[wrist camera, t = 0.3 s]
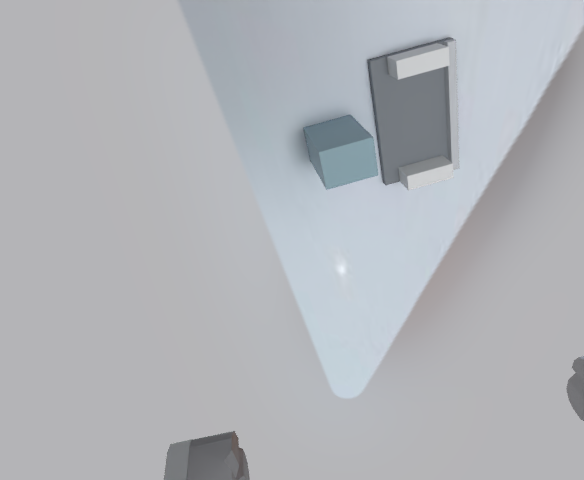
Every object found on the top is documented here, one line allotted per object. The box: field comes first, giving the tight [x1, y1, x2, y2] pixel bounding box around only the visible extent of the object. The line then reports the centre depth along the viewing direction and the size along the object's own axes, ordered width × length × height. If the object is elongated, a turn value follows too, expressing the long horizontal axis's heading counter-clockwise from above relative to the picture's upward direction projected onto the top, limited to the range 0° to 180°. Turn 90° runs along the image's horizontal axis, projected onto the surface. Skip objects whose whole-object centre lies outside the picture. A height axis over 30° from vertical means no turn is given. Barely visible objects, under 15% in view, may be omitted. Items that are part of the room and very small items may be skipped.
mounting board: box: [368, 38, 459, 190], centre depth 55 cm, size 16×10×4 cm, turn 13°
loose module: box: [303, 115, 378, 190], centre depth 52 cm, size 4×6×9 cm
